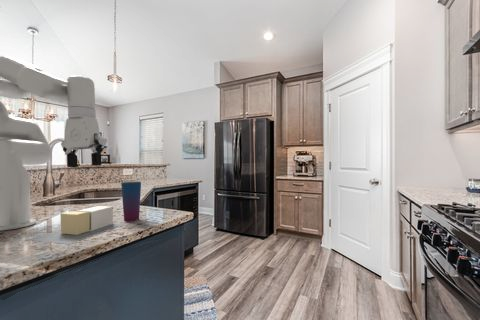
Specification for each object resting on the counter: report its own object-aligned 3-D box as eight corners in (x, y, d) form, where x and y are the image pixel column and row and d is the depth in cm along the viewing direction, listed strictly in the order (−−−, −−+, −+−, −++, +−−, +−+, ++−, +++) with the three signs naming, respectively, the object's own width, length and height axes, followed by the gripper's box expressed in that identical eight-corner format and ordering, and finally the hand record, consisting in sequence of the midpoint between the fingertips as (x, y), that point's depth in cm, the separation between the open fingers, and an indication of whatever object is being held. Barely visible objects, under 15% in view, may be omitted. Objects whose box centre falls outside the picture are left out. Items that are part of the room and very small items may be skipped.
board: (25, 242, 64) (25, 239, 64) (88, 223, 83) (88, 221, 83) (69, 247, 60) (69, 244, 60) (125, 226, 79) (125, 223, 79)
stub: (60, 233, 69) (60, 213, 69) (73, 229, 72) (73, 210, 73) (77, 234, 67) (77, 214, 67) (89, 230, 71) (89, 211, 71)
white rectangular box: (74, 229, 73) (74, 211, 73) (98, 222, 81) (98, 205, 82) (90, 231, 71) (90, 211, 71) (113, 223, 80) (112, 206, 80)
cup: (133, 224, 81) (133, 183, 81) (117, 224, 82) (116, 182, 82) (145, 219, 88) (144, 181, 88) (129, 219, 89) (129, 181, 89)
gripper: (50, 115, 73) (52, 167, 73) (94, 109, 69) (96, 165, 69) (71, 119, 80) (73, 167, 80) (113, 114, 77) (115, 164, 76)
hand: (84, 166), depth 75 cm, fingers open, 9 cm apart
